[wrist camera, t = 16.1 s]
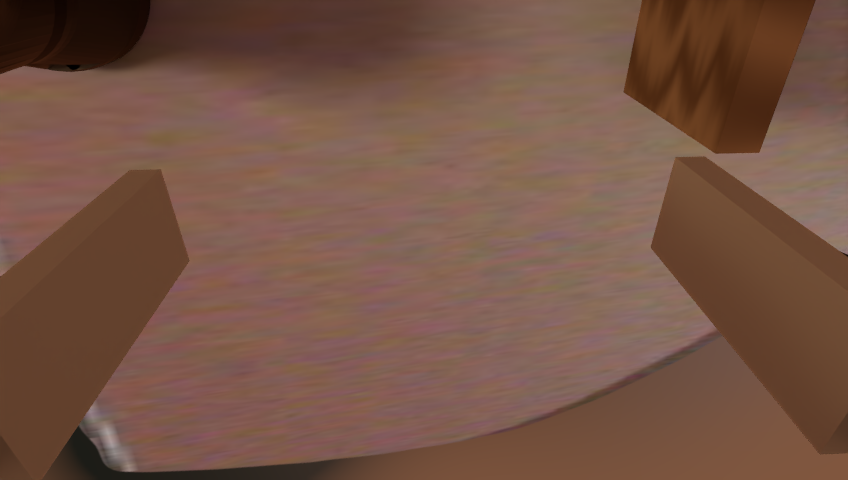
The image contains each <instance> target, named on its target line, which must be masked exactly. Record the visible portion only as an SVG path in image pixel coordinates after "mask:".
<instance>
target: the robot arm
mask: <svg viewBox="0 0 848 480" xmlns="http://www.w3.org/2000/svg"><path fill="white" fill-rule="evenodd" d="M149 9H150V0H0V74H2V73H4V72H7V71H10V70H13V69H16V68H19V67H22V66H28V67H35V68H42V69H49V70H55V71H66V72H75V71H85V70H90V69H94V68H97V67H100V66H103V65H105V64H108V63H110V62H113V61H115V60H117V59H119V58H120V57H122V56H124V55H125V54H126V53H127V52H129V51H130V50H131V49H132V48H133V47H134V45H135V44H136V43H137V42H138V40H139V39H140V37H141V35H142V33H143V31H144V29H145V26H146V23H147V19H148V15H149ZM651 249H652V250H653V251H654V252H655V253H656V255H657V256H658V257H659V258H660V260H661V261H662V262H663V263H664V264H665V266H666V267H667V268H668V269H669V271H670V272H671V273H672V274H673V275H674V277H675V278H676V279H677V280H678V282H679V283H680V284H681V285H682V286H683V288H684V289H685V290H686V291H687V293H688V294H689V295H690V296H691V297H692V299H693V300H694V301H695V302H696V304H697V305H698V306H699V307H700V308H701V310H702V311H703V312H704V313H705V315H706V316H707V317H708V318H709V319H710V321H711V322H712V323H713V324H714V326H715V327H716V328H717V329H718V330H719V332H720V333H721V334H722V335H723V337H724V338H725V339H726V340H727V341H728V343H729V344H730V345H731V346H732V348H733V349H734V350H735V351H736V353H737V354H738V355H739V356H740V357H741V359H742V360H743V361H744V362H745V364H746V365H747V366H748V367H749V368H750V369H751V371H752V372H753V373H754V375H755V376H756V377H757V378H758V379H759V381H760V382H761V383H762V384H763V386H764V387H765V388H766V389H767V390H768V392H769V393H770V394H771V395H772V396H773V398H774V399H775V400H776V401H777V403H778V404H779V405H780V406H781V408H782V409H783V410H784V411H785V412H786V414H787V415H788V416H789V417H790V419H791V420H792V421H793V422H794V423H795V424H796V426H797V427H798V428H799V430H800V431H801V432H802V433H803V434H804V436H805V437H806V438H807V439H808V441H809V442H810V443H811V444H812V445H813V447H814V448H815V449H816V450H817V452H818V453H819V454H839V453H848V255H847V254H845V253H842V252H840V251H838V250H837V249H836V248H834V247H833V246H831V245H830V244H829V243H827V242H826V241H824V240H823V239H821V238H820V237H819V236H817V235H816V234H814V233H813V232H811V231H810V230H809V229H807V228H806V227H804V226H803V225H801V224H800V223H799V222H797V221H796V220H794V219H793V218H791V217H790V216H789V215H787V214H786V213H784V212H783V211H782V210H780V209H779V208H777V207H776V206H774V205H773V204H772V203H770V202H769V201H767V200H766V199H764V198H763V197H762V196H760V195H759V194H757V193H756V192H754V191H753V190H752V189H750V188H749V187H747V186H746V185H744V184H743V183H742V182H740V181H739V180H737V179H736V178H735V177H733V176H732V175H730V174H729V173H727V172H726V171H725V170H723V169H722V168H720V167H719V166H717V165H716V164H715V163H713V162H712V161H710V160H709V159H707V158H706V157H675V161H674V164H673V168H672V172H671V175H670V179H669V183H668V186H667V190H666V193H665V197H664V201H663V204H662V208H661V212H660V215H659V219H658V222H657V226H656V230H655V233H654V237H653V241H652V244H651ZM188 262H189V257H188V254H187V251H186V248H185V245H184V242H183V238H182V235H181V232H180V229H179V226H178V223H177V219H176V216H175V213H174V210H173V207H172V204H171V200H170V197H169V194H168V191H167V188H166V184H165V181H164V178H163V175H162V172H161V169H160V170H129V171H128V172H127V173H126V174H125V175H123V176H122V177H121V178H120V179H119V180H117V181H116V182H115V183H114V184H113V185H111V186H110V187H109V188H108V189H106V190H105V191H104V192H103V193H102V194H100V195H99V196H98V197H97V198H96V199H94V200H93V201H92V202H91V203H89V204H88V205H87V206H86V207H85V208H83V209H82V210H81V211H80V212H79V213H77V214H76V215H75V216H74V217H72V218H71V219H70V220H69V221H68V222H66V223H65V224H64V225H63V226H62V227H60V228H59V229H58V230H57V231H56V232H54V233H53V234H52V235H51V236H49V237H48V238H47V239H46V240H45V241H43V242H42V243H41V244H40V245H39V246H37V247H36V248H35V249H34V250H32V251H31V252H30V253H29V254H28V255H26V256H25V257H24V258H23V259H22V260H20V261H19V262H18V263H17V264H15V265H14V266H13V267H12V268H11V269H9V270H8V271H7V272H6V273H5V274H3V275H2V276H0V480H42V478H43V476H44V475H45V474H46V472H47V471H48V469H49V468H50V466H51V465H52V463H53V462H54V460H55V459H56V457H57V456H58V454H59V453H60V451H61V450H62V448H63V447H64V446H65V444H66V443H67V441H68V440H69V438H70V437H71V435H72V434H73V432H74V431H75V429H76V428H77V426H78V425H79V423H80V422H81V420H82V419H83V417H84V416H85V414H86V413H87V412H88V410H89V409H90V407H91V406H92V404H93V403H94V401H95V400H96V398H97V397H98V395H99V394H100V392H101V391H102V389H103V388H104V386H105V385H106V383H107V382H108V380H109V379H110V378H111V376H112V375H113V373H114V372H115V370H116V369H117V367H118V366H119V364H120V363H121V361H122V360H123V358H124V357H125V355H126V354H127V352H128V351H129V349H130V348H131V346H132V345H133V344H134V342H135V341H136V339H137V338H138V336H139V335H140V333H141V332H142V330H143V329H144V327H145V326H146V324H147V323H148V321H149V320H150V318H151V317H152V315H153V314H154V312H155V311H156V310H157V308H158V307H159V305H160V304H161V302H162V301H163V299H164V298H165V296H166V295H167V293H168V292H169V290H170V289H171V287H172V286H173V284H174V283H175V281H176V280H177V278H178V277H179V276H180V274H181V273H182V271H183V270H184V268H185V267H186V265H187V264H188Z"/></svg>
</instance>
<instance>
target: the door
mask: <svg viewBox="0 0 848 480" xmlns="http://www.w3.org/2000/svg"><path fill="white" fill-rule="evenodd" d="M814 3H815V0H642V4H641V9H640V14H639V19H638V24H637V29H636V34H635V38H634V43H633V48H632V53H631V58H630V63H629V68H628V73H627V78H626V83H625V88H624V93H626V94H627V95H629V96H630V97H632V98H633V99H635V100H636V101H638V102H639V103H641V104H642V105H644V106H645V107H647V108H648V109H650V110H651V111H653V112H654V113H656V114H657V115H659V116H660V117H662V118H663V119H665V120H666V121H668V122H669V123H671V124H672V125H674V126H675V127H677V128H678V129H680V130H681V131H683V132H684V133H686V134H687V135H689V136H690V137H692V138H693V139H695V140H696V141H697V142H699V143H700V144H702V145H703V146H705V147H706V148H708V149H709V150H711V151H712V152H714V153H715V154H719V153H759V152H760V149H761V146H762V144H763V141H764V138H765V136H766V133H767V130H768V127H769V125H770V122H771V119H772V117H773V114H774V111H775V108H776V106H777V103H778V100H779V98H780V95H781V92H782V90H783V87H784V84H785V81H786V79H787V76H788V73H789V71H790V68H791V65H792V62H793V60H794V57H795V54H796V52H797V49H798V46H799V44H800V41H801V38H802V35H803V33H804V30H805V27H806V25H807V22H808V19H809V16H810V14H811V11H812V8H813V6H814Z"/></svg>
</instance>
